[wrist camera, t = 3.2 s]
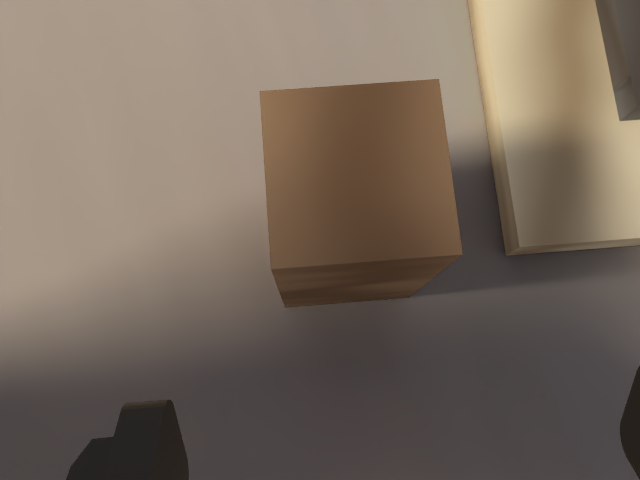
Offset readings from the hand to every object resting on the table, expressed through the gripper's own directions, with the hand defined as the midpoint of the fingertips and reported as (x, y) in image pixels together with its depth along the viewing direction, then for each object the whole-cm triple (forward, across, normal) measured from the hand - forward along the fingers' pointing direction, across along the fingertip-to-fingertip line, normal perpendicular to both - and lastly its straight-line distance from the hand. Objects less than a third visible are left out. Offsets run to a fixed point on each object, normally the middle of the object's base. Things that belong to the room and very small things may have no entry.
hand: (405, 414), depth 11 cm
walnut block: (+12, 0, +4) cm, 12 cm away
